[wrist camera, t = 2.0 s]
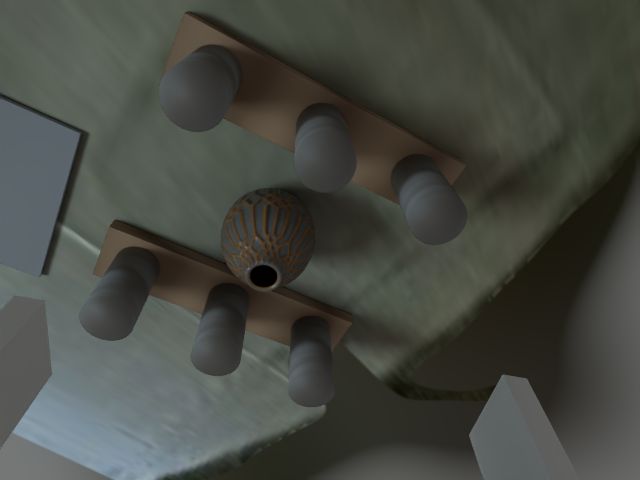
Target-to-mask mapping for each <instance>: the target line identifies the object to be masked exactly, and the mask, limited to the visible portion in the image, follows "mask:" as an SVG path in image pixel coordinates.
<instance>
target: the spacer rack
mask: <svg viewBox="0 0 640 480" xmlns="http://www.w3.org/2000/svg"><path fill="white" fill-rule="evenodd" d="M159 100H160V104H161V106H162V109H163V111H164V113H165V114H166V115H167V117H168V118H169V119H170V120H171V121H172V122H173V123H174V124H176V125H177V126H179V127H181V128H183V129H185V130H188V131H193V132H202V131H207V130H210V129H212V128H214V127H215V126H216V125H218V124H219V123H220V122H221V120H222V119H223V118H224V119H226V120H228V121H230V122H232V123H234V124H236V125H238V126H240V127H242V128H244V129H246V130H248V131H251V132H253V133H255V134H257V135H259V136H261V137H263V138H265V139H267V140H269V141H271V142H273V143H275V144H277V145H279V146H281V147H283V148H285V149H287V150H289V151H291V152H293V153H295V171H296V174H297V176H298V178H299V180H300V181H301V182H302V183H303V184H304V185H305V186H306V187H308V188H309V189H311V190H314V191H317V192H322V193H327V192H333V191H336V190H339V189H341V188H343V187H344V186H345V185H347V184H348V183H349V182H350V181H352V182H354V183H356V184H358V185H360V186H362V187H364V188H366V189H368V190H370V191H372V192H374V193H376V194H378V195H381V196H383V197H385V198H387V199H389V200H391V201H393V202H395V203H397V204H399V205H400V206H401V208H402V211H403V213H404V215H405V218H406V220H407V222H408V225H409V227H410V229H411V232H412V234H413V235H414V236H415V237H416V238H417V239H418V240H419V241H421V242H423V243H426V244H431V245H437V244H443V243H446V242H448V241H450V240H452V239H454V238H455V237H456V236H458V235H459V234H460V232H461V231H462V230H463V228H464V227H465V224H466V221H467V209H466V207H465V205H464V203H463V202H462V200H461V199H460V197H459V196H458V195H457V193H456V192H455V190H454V189H453V187H452V185H453V184H454V182H455V181H456V180H457V178H458V177H459V175H460V174H461V173H462V171H463V170H464V169H465V167H466V165H465V164H464V163H463V162H462V161H461V160H460V159H458V158H456V157H454V156H452V155H451V154H449V153H447V152H445V151H443V150H441V149H440V148H438V147H436V146H434V145H432V144H430V143H429V142H427V141H425V140H423V139H421V138H419V137H418V136H416V135H414V134H412V133H410V132H408V131H407V130H405V129H403V128H401V127H399V126H397V125H396V124H394V123H392V122H390V121H388V120H386V119H385V118H383V117H381V116H379V115H377V114H375V113H374V112H372V111H370V110H368V109H366V108H364V107H363V106H361V105H359V104H357V103H355V102H353V101H352V100H350V99H348V98H346V97H344V96H342V95H341V94H339V93H337V92H335V91H333V90H331V89H330V88H328V87H326V86H324V85H322V84H321V83H319V82H317V81H315V80H313V79H311V78H310V77H308V76H306V75H304V74H302V73H300V72H299V71H297V70H295V69H293V68H291V67H289V66H288V65H286V64H284V63H282V62H280V61H278V60H277V59H275V58H273V57H271V56H269V55H267V54H266V53H264V52H262V51H260V50H258V49H256V48H255V47H253V46H251V45H249V44H247V43H245V42H244V41H242V40H240V39H238V38H236V37H234V36H233V35H231V34H229V33H227V32H225V31H223V30H222V29H220V28H218V27H216V26H214V25H212V24H211V23H209V22H207V21H205V20H203V19H201V18H200V17H198V16H196V15H194V14H192V13H191V12H189V11H188V12H185V13H184V15H183V18H182V21H181V24H180V27H179V29H178V32H177V35H176V38H175V41H174V44H173V47H172V49H171V52H170V55H169V58H168V61H167V64H166V67H165V69H164V72H163V75H162V78H161V81H160V84H159ZM93 274H94V275H97V276H100V277H102V278H101V280H100V281H99V283H98V284H97V286H96V287H95V289H94V290H93V292H92V293H91V295H90V297H89V298H88V300H87V301H86V303H85V304H84V306H83V307H82V309H81V311H80V314H79V319H80V323H81V325H82V326H83V328H84V329H85V330H86V331H87V332H88V333H90V334H91V335H93V336H95V337H97V338H99V339H103V340H109V341H114V340H120V339H123V338H125V337H127V336H128V335H129V334H130V333H131V331H132V330H133V327H134V325H135V323H136V321H137V319H138V317H139V315H140V313H141V310H142V308H143V306H144V304H145V302H146V300H147V298H148V296H149V295H151V296H154V297H157V298H159V299H162V300H165V301H168V302H170V303H173V304H176V305H179V306H181V307H184V308H187V309H189V310H192V311H195V312H198V313H200V314H202V318H201V321H200V325H199V328H198V332H197V335H196V339H195V342H194V345H193V349H192V352H191V360H192V363H193V365H194V366H195V367H196V368H197V369H198V370H199V371H201V372H203V373H205V374H208V375H212V376H223V375H227V374H230V373H232V372H233V371H235V370H236V369H237V367H238V366H239V364H240V360H241V353H242V347H243V340H244V334H245V330H247V331H249V332H252V333H255V334H258V335H260V336H263V337H266V338H268V339H271V340H274V341H277V342H279V343H282V344H285V345H288V346H290V373H289V395H290V397H291V399H292V400H293V401H294V402H295V403H297V404H299V405H301V406H305V407H317V406H321V405H324V404H326V403H328V402H329V401H330V400H331V399H332V398H333V396H334V394H335V384H334V372H333V360H332V351H333V350H334V348H335V347H336V345H337V344H338V343H339V341H340V340H341V339H342V337H343V336H344V334H345V333H346V332H347V330H348V329H349V327H350V326H351V325H352V317H351V315H350V314H348V313H345V312H343V311H340V310H338V309H335V308H333V307H330V306H328V305H325V304H323V303H320V302H318V301H316V300H313V299H311V298H308V297H306V296H303V295H301V294H298V293H296V292H293V291H291V290H288V289H286V288H283V287H277V288H276V289H274V290H271V291H267V292H261V291H257V290H255V289H253V288H251V287H250V286H249V285H248V284H246V283H244V282H243V281H241V280H240V279H239V278H237V277H236V276H235V275H234V274H233V273H232V271H231V270H230V269H229V267H228V265H226V264H224V263H221V262H219V261H216V260H214V259H211V258H209V257H206V256H204V255H201V254H199V253H196V252H194V251H191V250H189V249H186V248H184V247H182V246H179V245H177V244H174V243H172V242H169V241H167V240H164V239H162V238H159V237H157V236H154V235H152V234H149V233H147V232H144V231H142V230H139V229H137V228H134V227H132V226H129V225H127V224H124V223H122V222H119V221H117V220H114V221H113V223H112V224H111V225H110V227H109V229H108V232H107V235H106V238H105V241H104V244H103V246H102V249H101V252H100V255H99V258H98V261H97V264H96V266H95V269H94V272H93Z"/></svg>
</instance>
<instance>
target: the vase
mask: <svg viewBox="0 0 640 480" xmlns="http://www.w3.org/2000/svg"><path fill="white" fill-rule="evenodd" d="M314 244H315V233H314V226H313V222H312V219H311V216H310V214H309V212H308V211H307V209H306V208H305V206H304V205H303V204H302V203H301V202H300V201H299V200H298V199H297V198H296V197H294V196H293V195H291V194H290V193H288V192H285V191H283V190H279V189H274V188H264V189H258V190H254V191H252V192H249V193H247V194H246V195H244V196H242V197H241V198H240V199H239V200H237V201H236V203H235V204H234V205H233V206H232V207H231V208H230V210H229V212H228V213H227V215H226V217H225V220H224V223H223V226H222V230H221V248H222V253H223V256H224V259H225V261H226V264H227V265H228V267H229V269H230V270H231V271H232V273H233V274H234V275H235V276H236V277H237V278H239V279H240V280H241V281H243V282H244V283H246V284H248V285H249V286H250V287H251V288H253V289H255V290H257V291H261V292H267V291H271V290H274V289H276V288H277V287H281V286H284V285H286V284H288V283H290V282H292V281H293V280H295V279H296V278H297V277H298V276H299V275H300V274H301V273H302V272H303V271H304V269H305V268H306V266H307V265H308V263H309V261H310V259H311V256H312V253H313V250H314Z"/></svg>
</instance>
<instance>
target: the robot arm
mask: <svg viewBox="0 0 640 480" xmlns="http://www.w3.org/2000/svg"><path fill="white" fill-rule="evenodd" d="M51 374H52V370H51V360H50V349H49V339H48V329H47V318H46V308H45V300H39V299H33V298H26V297H20V296H14V297H13V298H12V299H11V300H10V301H9V302H8V303H7V304H6V305H5V306H4V307H3V308H2V309H1V310H0V448H1V447H2V445H3V444H4V442H5V441H6V440H7V438H8V437H9V435H10V434H11V433H12V431H13V430H14V428H15V427H16V425H17V424H18V422H19V421H20V420H21V418H22V417H23V415H24V414H25V412H26V411H27V409H28V408H29V406H30V405H31V404H32V402H33V401H34V399H35V398H36V396H37V395H38V393H39V392H40V390H41V389H42V388H43V386H44V385H45V383H46V382H47V380H48V379H49V377H50V376H51ZM469 436H470V439H471V442H472V445H473V449H474V452H475V455H476V457H477V460H478V464H479V467H480V470H481V473H482V476H483V479H484V480H579V478H578V476H577V474H576V472H575V470H574V468H573V466H572V464H571V462H570V460H569V459H568V457H567V455H566V453H565V451H564V449H563V447H562V445H561V443H560V441H559V440H558V438H557V436H556V434H555V432H554V430H553V428H552V426H551V424H550V422H549V420H548V418H547V417H546V415H545V413H544V411H543V409H542V407H541V405H540V403H539V401H538V399H537V397H536V396H535V394H534V392H533V390H532V388H531V386H530V384H529V382H528V380H527V379H525V378H519V377H514V376H507V375H502V377H501V379H500V380H499V382H498V384H497V386H496V388H495V389H494V391H493V393H492V395H491V397H490V398H489V400H488V402H487V404H486V406H485V407H484V409H483V411H482V413H481V415H480V416H479V418H478V420H477V422H476V424H475V426H474V427H473V429H472V431H471V433H470V434H469Z"/></svg>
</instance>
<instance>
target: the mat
mask: <svg viewBox="0 0 640 480" xmlns="http://www.w3.org/2000/svg"><path fill="white" fill-rule="evenodd" d="M82 133H83V132H82V131H79V130H77V129H75V128H73V127H70V126H68V125H66V124H64V123H61V122H59V121H57V120H55V119H53V118H50V117H48V116H46V115H44V114H41V113H39V112H37V111H35V110H32V109H30V108H28V107H26V106H23V105H21V104H19V103H17V102H14V101H12V100H10V99H8V98H5V97H3V96H1V95H0V263H1V264H3V265H6V266H9V267H12V268H15V269H18V270H20V271H23V272H26V273H29V274H32V275H34V276H37V277H40V276H41V275H42V273H43V269H44V266H45V262H46V259H47V255H48V252H49V248H50V245H51V241H52V238H53V234H54V231H55V227H56V224H57V220H58V217H59V213H60V210H61V206H62V203H63V199H64V196H65V192H66V189H67V185H68V182H69V178H70V175H71V171H72V168H73V164H74V161H75V157H76V154H77V150H78V147H79V143H80V140H81V136H82Z"/></svg>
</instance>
